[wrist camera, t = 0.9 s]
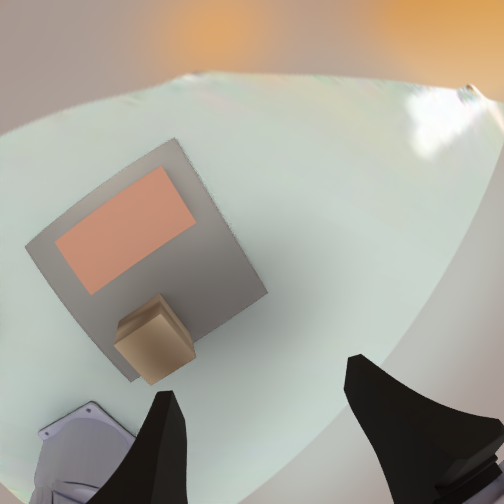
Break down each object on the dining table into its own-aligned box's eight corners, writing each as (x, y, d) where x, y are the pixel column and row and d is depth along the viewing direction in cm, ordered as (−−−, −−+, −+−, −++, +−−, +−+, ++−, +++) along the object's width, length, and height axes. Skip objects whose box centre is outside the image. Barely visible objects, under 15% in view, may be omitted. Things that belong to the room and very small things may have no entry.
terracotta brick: (101, 277, 21) (90, 295, 17) (71, 232, 19) (54, 242, 16) (189, 216, 22) (196, 222, 18) (160, 169, 21) (161, 165, 17)
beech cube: (150, 357, 23) (150, 385, 19) (118, 320, 22) (113, 345, 18) (189, 331, 24) (196, 357, 20) (159, 293, 22) (160, 313, 18)
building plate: (131, 375, 24) (130, 382, 23) (29, 244, 19) (24, 246, 18) (263, 288, 26) (268, 292, 25) (173, 139, 21) (174, 137, 20)
